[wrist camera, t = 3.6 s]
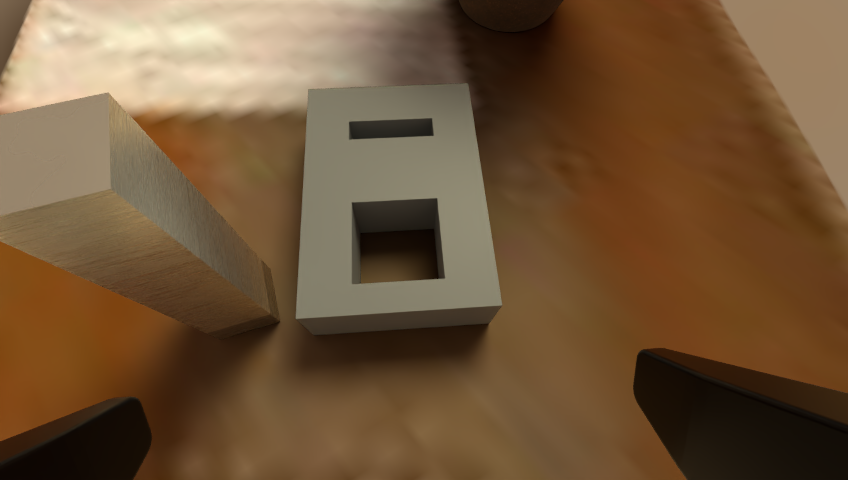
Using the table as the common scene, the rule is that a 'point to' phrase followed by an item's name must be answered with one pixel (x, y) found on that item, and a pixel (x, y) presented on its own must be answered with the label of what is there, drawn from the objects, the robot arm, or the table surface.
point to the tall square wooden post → (125, 217)
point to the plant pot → (509, 13)
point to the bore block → (393, 208)
